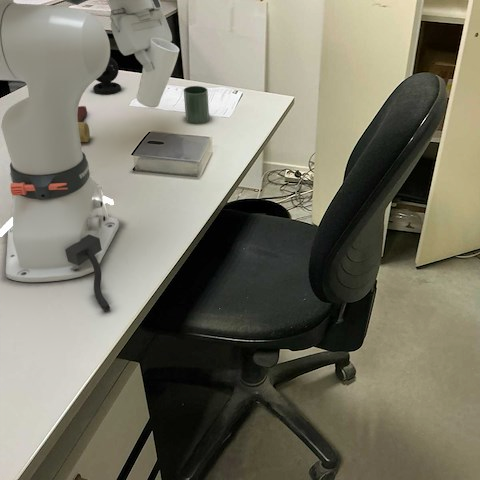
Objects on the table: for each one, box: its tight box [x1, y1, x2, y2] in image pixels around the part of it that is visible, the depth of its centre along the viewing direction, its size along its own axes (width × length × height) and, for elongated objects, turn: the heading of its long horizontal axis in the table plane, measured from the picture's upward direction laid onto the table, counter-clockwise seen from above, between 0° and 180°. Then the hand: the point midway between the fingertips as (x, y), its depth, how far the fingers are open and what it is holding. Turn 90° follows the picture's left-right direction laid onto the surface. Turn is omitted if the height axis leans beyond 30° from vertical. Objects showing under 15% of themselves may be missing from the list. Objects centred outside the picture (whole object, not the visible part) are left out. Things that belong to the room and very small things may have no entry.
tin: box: [183, 85, 210, 125], centre depth 144 cm, size 6×6×8 cm
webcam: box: [92, 56, 122, 95], centre depth 157 cm, size 8×8×10 cm
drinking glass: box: [136, 38, 180, 109], centre depth 129 cm, size 7×7×15 cm
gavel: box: [77, 105, 91, 143], centre depth 137 cm, size 21×5×10 cm
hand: (158, 68), depth 128 cm, fingers closed on drinking glass, 6 cm apart
